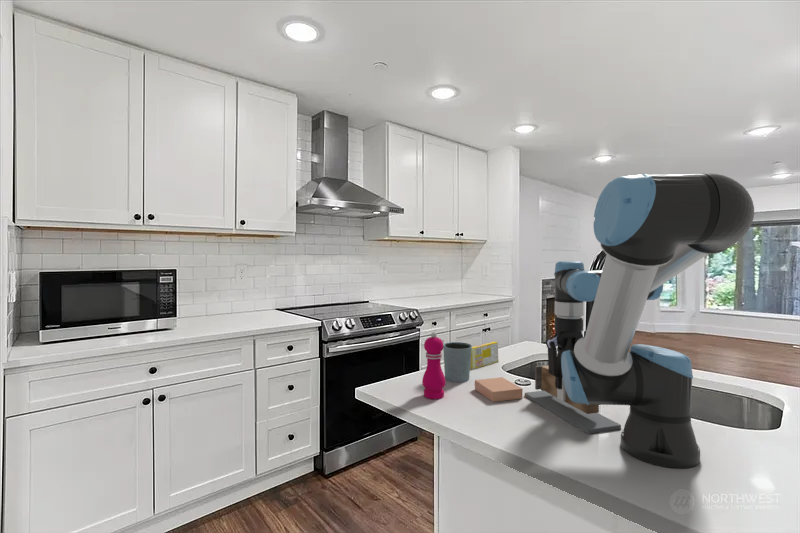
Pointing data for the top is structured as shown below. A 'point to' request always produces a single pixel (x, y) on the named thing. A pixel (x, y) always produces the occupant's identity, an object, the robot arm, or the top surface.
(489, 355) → the candy box
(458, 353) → the grey-blue cup
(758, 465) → the top surface
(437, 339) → the pepper mill
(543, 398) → the charcoal mat
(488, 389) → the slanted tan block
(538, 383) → the wooden block
